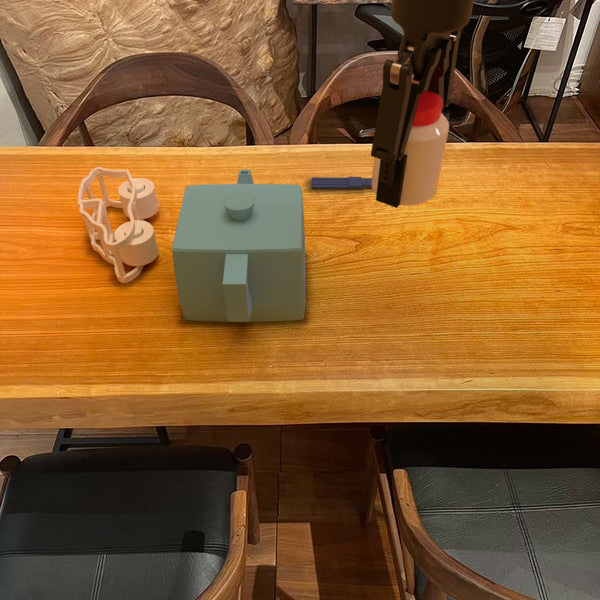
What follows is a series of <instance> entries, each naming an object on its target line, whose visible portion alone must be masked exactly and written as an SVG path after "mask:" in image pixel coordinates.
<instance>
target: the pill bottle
mask: <svg viewBox="0 0 600 600" xmlns="http://www.w3.org/2000/svg"><path fill="white" fill-rule="evenodd" d="M442 106H443V100H442V98H441V97H440V96H439V95H438V94H436V93H434V92H432V91H430V90H427V92H426V93H424V94H422V95H421V97H420V101H419V104H418V107H417V111H416V114H415V118H414V121H413V124H412V128H411V131H410V134H409V138H408V141H407V145H406V148H405V151H404V154H405V155H407V161H406V168H405V174H404V181H403V187H402V194H401V200H400V205H399V206H409V207H410V206H418V205H422V204H424V203H427V202H428V201H430V200H432V198H434V197H435V195H436V193H437V190H438V184H439V181H440V174H441V171H442V170H441V169H442V164H443V159H444V155H445V150H446V145H447V140H448V135H449V131H450V122H449V120H448V119H447V118H446V117H445V116H444V115H443V114H442V113H441V111H442ZM380 160H381V159H378V158H375V157H373V166H372V173H371V174H372V175H371V178H372V181H371V185H372V188H371V189H372V191H373V193H374V194H375V195H376V194H377V186H378V177H379V168H380Z"/></svg>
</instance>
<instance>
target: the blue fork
mask: <svg viewBox="0 0 600 600" xmlns="http://www.w3.org/2000/svg"><path fill="white" fill-rule="evenodd" d="M371 181H372V177H362V176H347V177H330V176H329V177H322V176H321V177H319V176H317V177H314V176H311V182H310V183H311V184H310V185H311V190H356V191H357V190H359V191H360V190H363V189H372V185H371Z"/></svg>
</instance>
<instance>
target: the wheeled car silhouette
mask: <svg viewBox="0 0 600 600" xmlns="http://www.w3.org/2000/svg"><path fill="white" fill-rule="evenodd" d="M104 177H108V178H115V179H121V178H122V179H123V178H127V180H125V181H123V182H122V183H121V184H120V185H119V187H118V189H117V192H118V195H119V200H117V199H116V200H115V199H112V198H110V197H109V192H108V190H107V186H106V183H105V180H104V179H105V178H104ZM95 178H97V180H98V183H99V186H100V191H101V194H102V197H103V199H102V198H95V197H94V194H93V193H94V192H93V189H92V187H91V184H92V183H94V181H95ZM85 194H87V197H88V199H85ZM77 206H78V208H79V210H78V211H79V214H80V217H81V218H82V220H83V222H84V225H85V229H86V231H87V235H88V237H89V239H90V244H91V247H92V249H93V251H95V252H97V253H98V254H99V255H100V256H101V258H102V259H103V260H104V261H105V262H107V263H108V264H111V265H113V266H114V273H115V276H116V279H117V281H118V282H119V283H120V284H128V283H130V282H131V281H133V280H134V279H136V278H137V277H138V276H139V275H140V274H141V273H142V271H143V269H144V266H145V265H147V264H149V263H152V262H153V261H154V260H155V259H157V257H158V255H159V252H160V251H159V247H158V243H157V238H156V234H155V229H154V226H153V224H151V223H150V222H149V221H146V219H148V218H151V217H153V216H154V215H156V214H157V212H159V208H160V205H159V201H158V196H157V192H156V186H155V183H154V181H152V180H150V179H149V178H145V177H135V178H133V177H132V174H131V172H130V170H129V169H113V168H105V167H102V166H96V167H94V168H92V169H91V170H90V171H89V173H88V175H87V176H85V177H83V178H82V179H81V182H80V185H79V190H78V194H77ZM109 207H113V208H115V209H121V210H122V211H123V214H124V215H125V216H126V218H129V220H130V221H126V222H124V223H122V224H120V225H119V226H118V227H117V228H116V229H115V231H114V232H113V229H112V225H111V221H110V219H109V215H108V211H107V208H109ZM90 208H91V210H92V214H91V215H90V214H89V212H87V209H90ZM103 223H104V224H103ZM97 241H100V244H101V246H100V245H99V244H98V243H97ZM123 263H124V264H125V265H127V266H131V267H134V269H132V270H131V271H129V272H127V273H126V270H125V268H124V264H123Z"/></svg>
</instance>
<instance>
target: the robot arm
mask: <svg viewBox="0 0 600 600" xmlns="http://www.w3.org/2000/svg"><path fill="white" fill-rule="evenodd" d="M474 2H475V0H391V6H390V16H391V18H392V21H394V22H395V24H396V25H398V26H399V27H400V28H401V29H402V32H403V35H402V39H401V42H400V43H399V46H398V50H397V54H396V56H397V58H396V60H391V59H386V60H385V61H384V64H383V66H382V88H381V93H380V98H379V104H378V110H377V115H376V121H375V127H374V134H373V139H372V145H371V151H370V156H371V157H373V158H374V157H375V158H378V159H381V160H380V168H379V177H378V186H377V194H375V195H376V196H375V201H377V202H380V203H382V204H385V205H387V206H390V207H393V208H396V209H398V207H400V206H401V205H400V200H401V194H402V187H403V181H404V174H405V168H406V161H407V155H405V154H404V151H405V148H406V145H407V141H408V138H409V134H410V131H411V128H412V124H413V121H414V118H415V114H416V111H417V107H418V104H419V101H420V97H421V95H422V94H424V93H426V92H427V90H430V91H432V92H434V93H436V94H438V95H439V96H440V97H441V98H442V100H443V106H442V111H441V113H442V114H443V115H444V116H445V117H446V118H447V120H448V119H449V117H450V113H451V111H450V110H447V109H445V107H446V108H447V107H448V106H449V105H450V104H451V101H452V100H451V99H452V93H453V87H454V78H455V71H456V65H457V56H458V49H459V43H460V39H461V36H462V35H461V34H462V31H463V28H464V27H466V26H467V25H468V24H469V22H470V20H471V17H472V12H473V7H474ZM413 81H416V82H418V83H416V82H413Z"/></svg>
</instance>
